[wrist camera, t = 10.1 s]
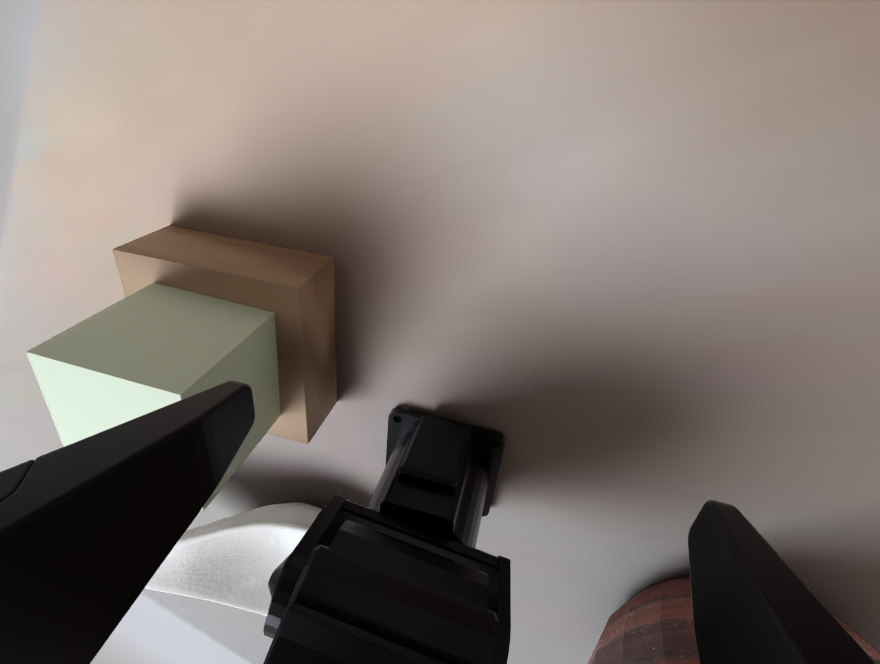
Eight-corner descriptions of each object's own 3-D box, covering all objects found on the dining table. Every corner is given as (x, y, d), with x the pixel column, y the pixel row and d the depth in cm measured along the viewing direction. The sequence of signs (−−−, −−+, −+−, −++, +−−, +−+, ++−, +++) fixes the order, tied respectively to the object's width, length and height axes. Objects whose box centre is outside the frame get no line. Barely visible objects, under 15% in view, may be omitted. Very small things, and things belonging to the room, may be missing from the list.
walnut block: (340, 397, 28) (307, 444, 25) (203, 364, 29) (155, 404, 26) (337, 254, 23) (297, 287, 20) (175, 222, 25) (112, 249, 21)
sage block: (280, 415, 24) (203, 511, 19) (174, 385, 25) (73, 470, 20) (274, 312, 21) (180, 394, 16) (153, 282, 22) (26, 352, 17)
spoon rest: (410, 510, 31) (372, 619, 25) (382, 601, 38) (346, 706, 32) (92, 394, 33) (-14, 468, 27) (116, 499, 40) (34, 578, 34)
